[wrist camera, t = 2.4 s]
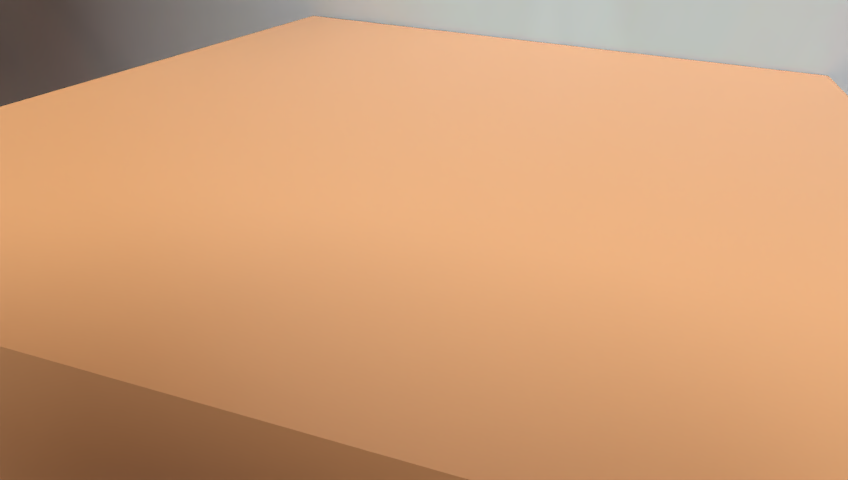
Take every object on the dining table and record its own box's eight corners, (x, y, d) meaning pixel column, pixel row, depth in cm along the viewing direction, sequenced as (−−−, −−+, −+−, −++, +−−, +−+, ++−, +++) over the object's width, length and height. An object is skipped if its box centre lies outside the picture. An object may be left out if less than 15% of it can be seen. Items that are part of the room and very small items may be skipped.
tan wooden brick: (694, 489, 13) (733, 1326, 5) (318, 389, 15) (-55, 894, 7) (828, 75, 9) (1513, 777, 2) (312, 15, 11) (-418, 226, 4)
